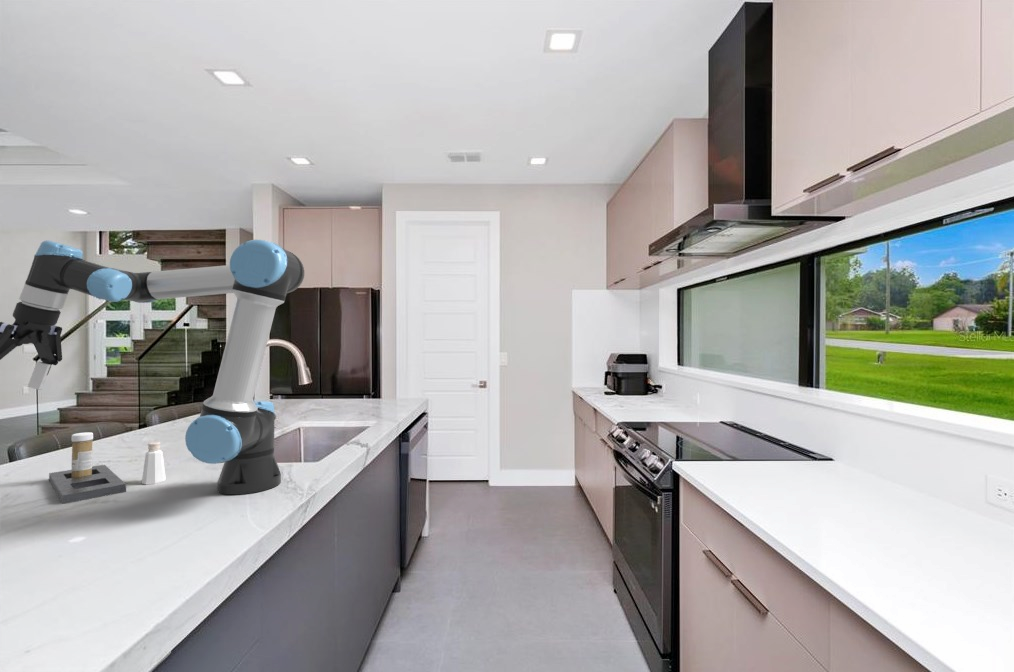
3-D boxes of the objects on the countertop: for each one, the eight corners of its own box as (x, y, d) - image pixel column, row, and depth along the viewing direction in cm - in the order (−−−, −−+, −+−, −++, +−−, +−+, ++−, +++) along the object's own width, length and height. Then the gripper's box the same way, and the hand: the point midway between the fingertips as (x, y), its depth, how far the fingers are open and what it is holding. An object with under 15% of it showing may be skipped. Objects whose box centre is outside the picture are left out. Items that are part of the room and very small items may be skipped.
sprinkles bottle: (69, 481, 130) (70, 433, 130) (91, 477, 133) (91, 431, 133) (72, 484, 127) (72, 435, 127) (94, 480, 130) (94, 433, 130)
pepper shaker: (152, 478, 132) (152, 440, 132) (170, 479, 131) (171, 440, 132) (136, 484, 126) (136, 444, 126) (155, 484, 126) (155, 444, 126)
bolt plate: (125, 491, 120) (125, 483, 120) (62, 503, 111) (62, 495, 111) (104, 471, 140) (104, 464, 140) (49, 480, 131) (49, 473, 131)
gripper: (68, 304, 121) (39, 381, 120) (-33, 294, 96) (-71, 391, 95) (98, 314, 121) (69, 390, 120) (4, 306, 96) (-33, 402, 95)
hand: (7, 391), depth 108 cm, fingers open, 13 cm apart
